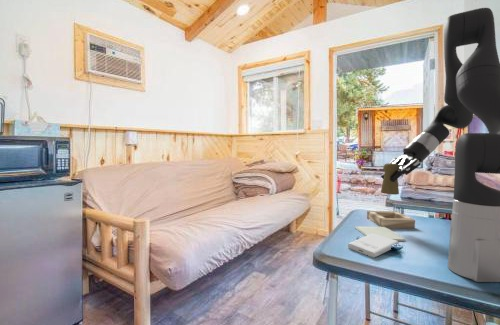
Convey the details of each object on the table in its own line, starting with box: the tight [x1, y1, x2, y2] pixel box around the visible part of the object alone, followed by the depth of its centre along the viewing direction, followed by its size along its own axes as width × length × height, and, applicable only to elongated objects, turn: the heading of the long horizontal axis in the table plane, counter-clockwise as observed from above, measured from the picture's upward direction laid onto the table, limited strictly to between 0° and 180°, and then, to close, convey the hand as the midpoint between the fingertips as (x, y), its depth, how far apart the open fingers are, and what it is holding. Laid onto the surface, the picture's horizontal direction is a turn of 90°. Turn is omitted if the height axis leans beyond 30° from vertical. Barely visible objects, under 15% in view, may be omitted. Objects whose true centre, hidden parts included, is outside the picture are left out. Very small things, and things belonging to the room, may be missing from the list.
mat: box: [354, 225, 407, 242], centre depth 89 cm, size 12×11×1 cm
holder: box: [366, 210, 416, 229], centre depth 102 cm, size 12×12×3 cm
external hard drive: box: [347, 233, 400, 258], centre depth 76 cm, size 2×8×12 cm
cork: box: [380, 162, 400, 196], centre depth 97 cm, size 6×6×11 cm
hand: (386, 179), depth 97 cm, fingers closed on cork, 5 cm apart
